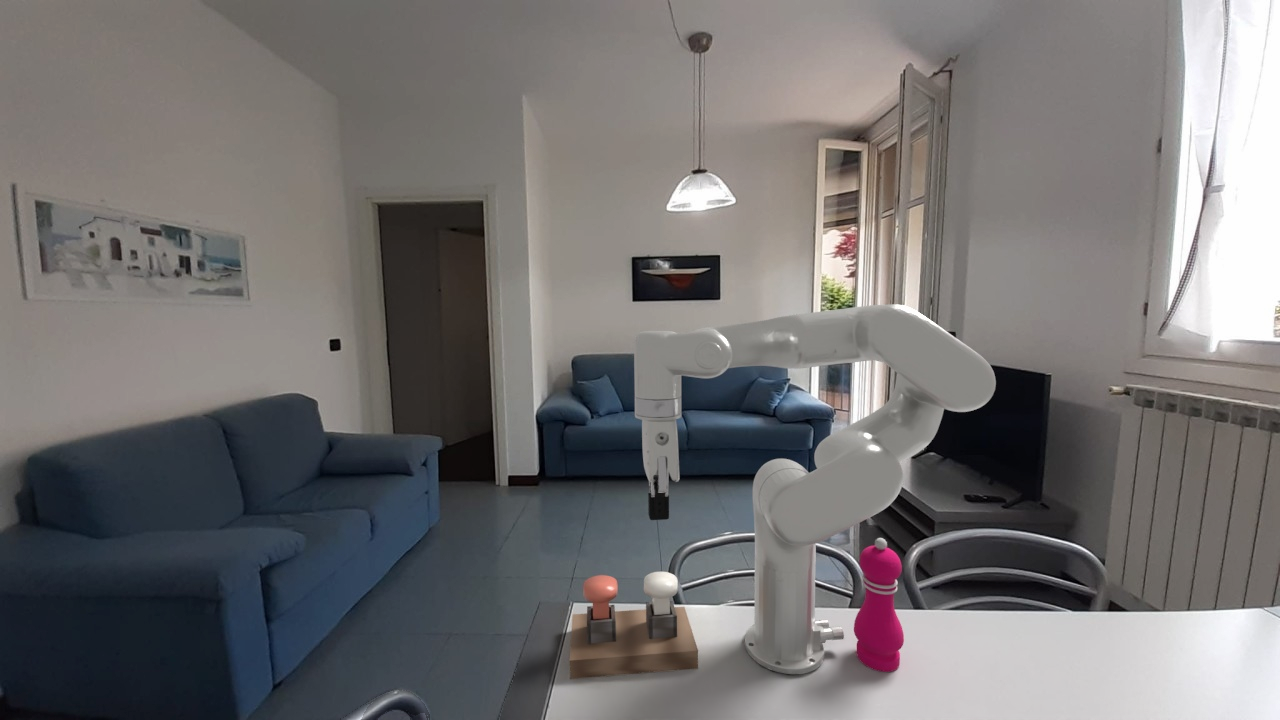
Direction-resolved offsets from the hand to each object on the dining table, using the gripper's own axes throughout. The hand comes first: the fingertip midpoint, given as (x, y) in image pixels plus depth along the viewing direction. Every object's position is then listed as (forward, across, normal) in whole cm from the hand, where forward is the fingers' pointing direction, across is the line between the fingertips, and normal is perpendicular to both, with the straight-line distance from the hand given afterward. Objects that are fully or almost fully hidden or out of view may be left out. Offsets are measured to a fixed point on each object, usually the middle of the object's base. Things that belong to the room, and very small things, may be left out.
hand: (658, 517), depth 82 cm
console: (+22, 0, +5) cm, 23 cm away
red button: (+16, 0, +10) cm, 19 cm away
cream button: (+16, 0, 0) cm, 16 cm away
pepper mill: (+22, -7, -34) cm, 42 cm away
